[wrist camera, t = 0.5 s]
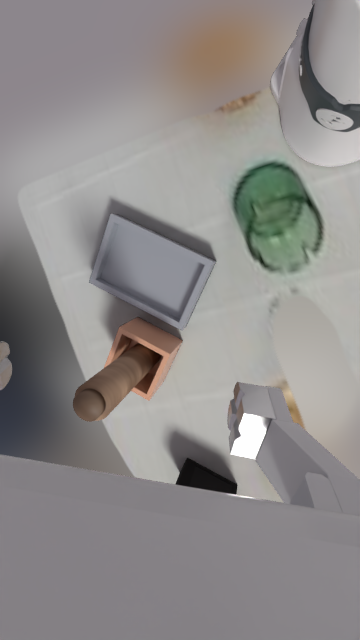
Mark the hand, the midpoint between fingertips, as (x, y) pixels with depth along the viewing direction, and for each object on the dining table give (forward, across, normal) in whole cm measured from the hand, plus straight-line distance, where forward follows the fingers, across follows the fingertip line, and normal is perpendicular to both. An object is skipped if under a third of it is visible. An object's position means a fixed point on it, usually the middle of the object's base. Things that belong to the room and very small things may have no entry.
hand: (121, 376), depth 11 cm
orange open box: (+36, +3, +23) cm, 43 cm away
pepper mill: (+35, +3, +22) cm, 42 cm away
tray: (+39, +4, +9) cm, 40 cm away
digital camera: (+29, -12, +45) cm, 55 cm away
